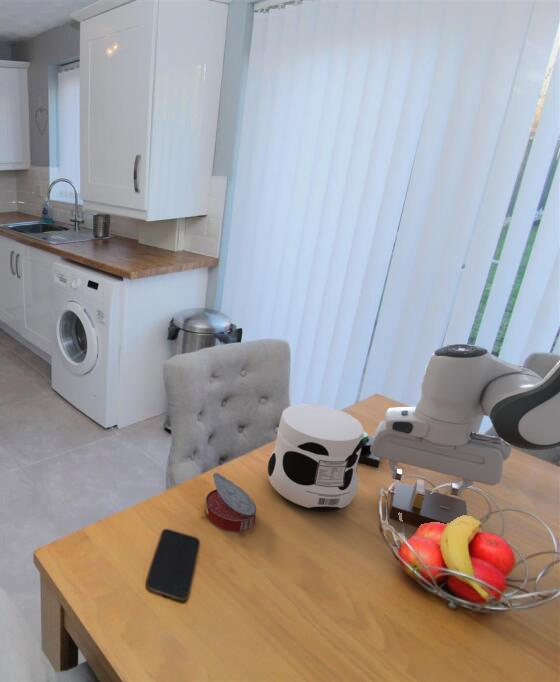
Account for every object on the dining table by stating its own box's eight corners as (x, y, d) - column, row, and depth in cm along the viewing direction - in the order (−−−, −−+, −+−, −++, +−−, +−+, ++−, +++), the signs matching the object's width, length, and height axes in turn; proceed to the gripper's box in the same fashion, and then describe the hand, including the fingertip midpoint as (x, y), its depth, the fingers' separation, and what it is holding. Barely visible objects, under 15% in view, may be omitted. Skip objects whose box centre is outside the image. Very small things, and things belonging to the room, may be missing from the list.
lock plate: (461, 512, 99) (465, 499, 98) (464, 542, 91) (469, 529, 90) (385, 489, 106) (388, 477, 105) (382, 516, 99) (385, 503, 98)
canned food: (217, 515, 107) (230, 472, 107) (259, 538, 99) (273, 491, 99) (187, 514, 100) (201, 468, 100) (230, 538, 92) (245, 489, 92)
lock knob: (413, 490, 101) (416, 477, 100) (421, 492, 100) (425, 480, 99) (412, 506, 97) (416, 493, 96) (421, 509, 96) (425, 496, 95)
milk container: (293, 459, 118) (304, 394, 111) (368, 497, 104) (387, 425, 98) (249, 486, 109) (259, 416, 103) (325, 531, 95) (342, 454, 89)
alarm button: (367, 438, 119) (369, 432, 118) (366, 444, 116) (367, 438, 116) (350, 433, 121) (352, 427, 120) (349, 440, 118) (350, 434, 118)
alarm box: (380, 448, 121) (384, 434, 119) (377, 468, 113) (381, 454, 112) (335, 436, 126) (338, 423, 125) (329, 455, 119) (332, 441, 117)
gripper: (511, 433, 88) (491, 494, 93) (378, 406, 100) (366, 462, 104) (517, 449, 84) (495, 513, 88) (377, 419, 95) (364, 477, 100)
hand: (424, 485), depth 97 cm, fingers open, 8 cm apart
